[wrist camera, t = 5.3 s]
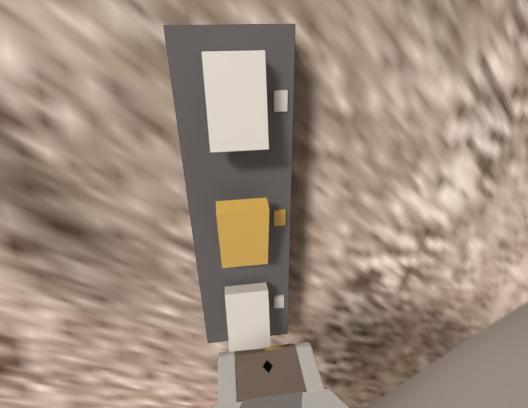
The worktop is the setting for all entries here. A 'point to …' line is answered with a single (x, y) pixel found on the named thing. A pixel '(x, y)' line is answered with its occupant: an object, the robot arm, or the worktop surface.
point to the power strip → (235, 163)
